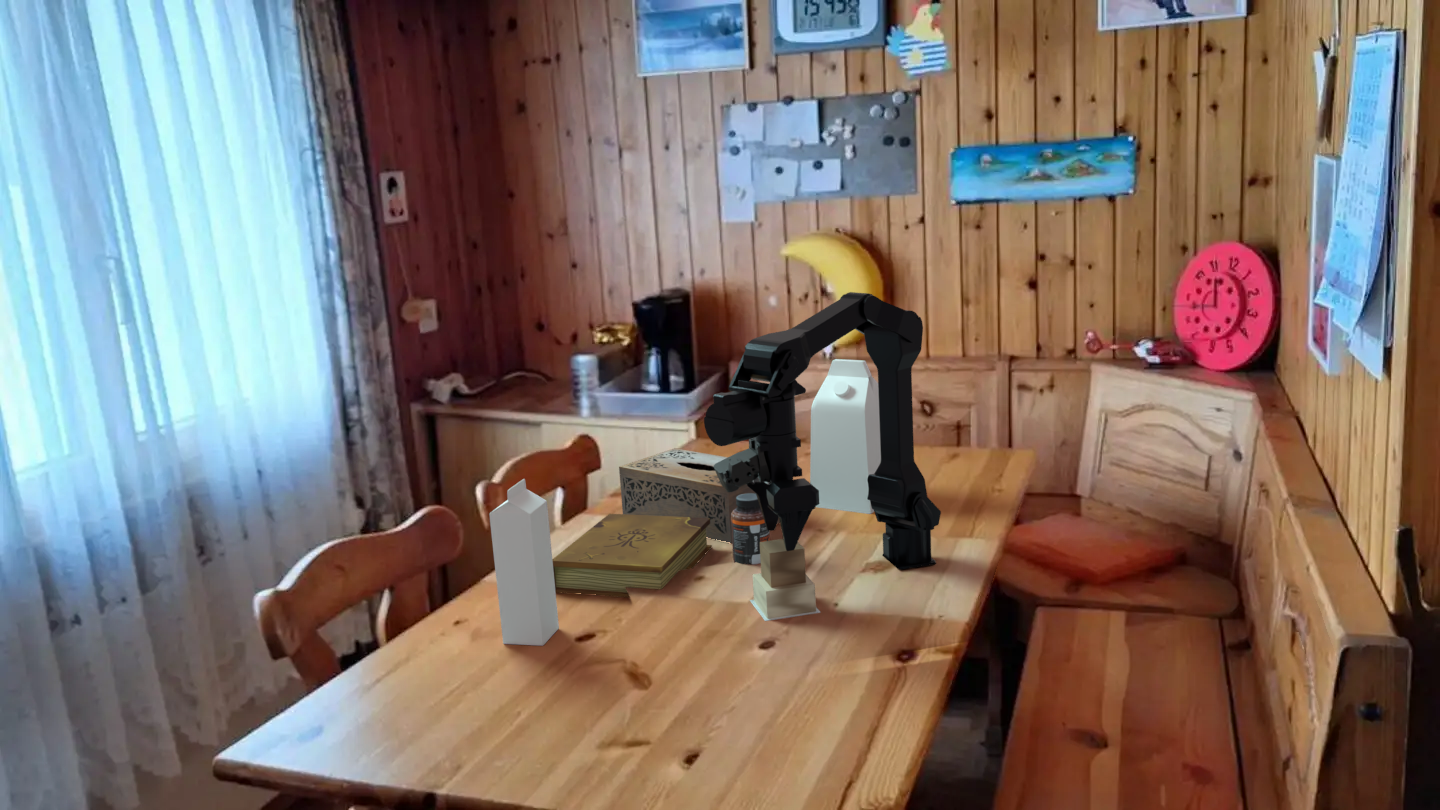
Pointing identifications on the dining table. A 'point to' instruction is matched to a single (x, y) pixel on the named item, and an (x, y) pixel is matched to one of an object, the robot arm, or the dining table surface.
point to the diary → (630, 554)
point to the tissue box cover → (680, 489)
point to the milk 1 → (524, 568)
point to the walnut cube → (782, 563)
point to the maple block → (784, 598)
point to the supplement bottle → (748, 529)
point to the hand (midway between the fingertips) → (780, 540)
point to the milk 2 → (845, 437)
